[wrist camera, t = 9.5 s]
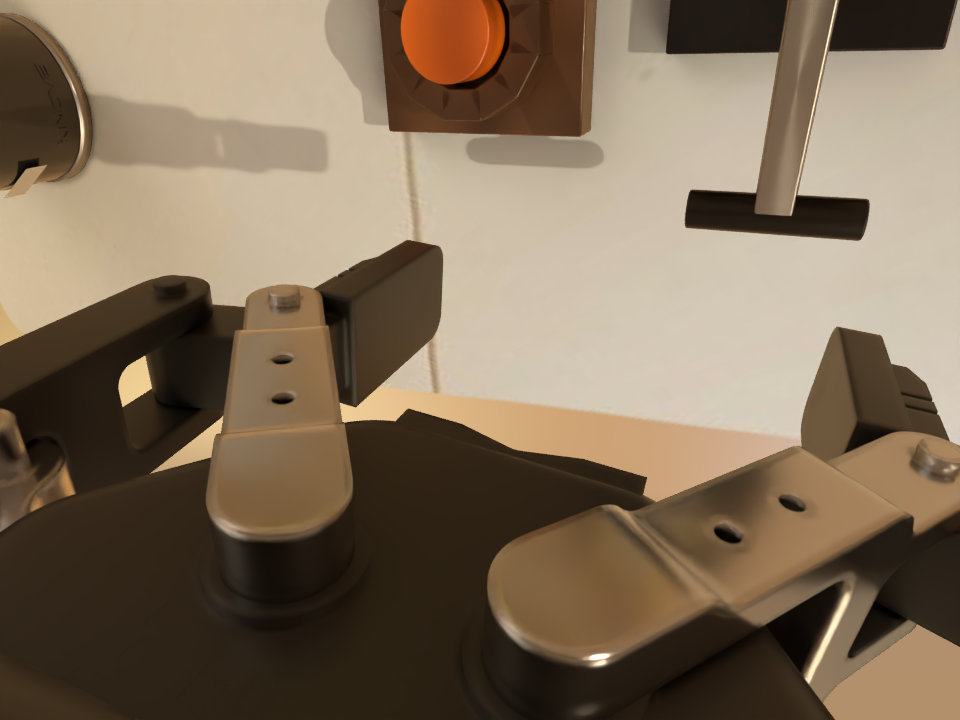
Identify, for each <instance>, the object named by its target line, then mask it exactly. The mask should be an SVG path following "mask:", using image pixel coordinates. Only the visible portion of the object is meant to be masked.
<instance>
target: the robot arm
mask: <svg viewBox="0 0 960 720" xmlns="http://www.w3.org/2000/svg"><path fill="white" fill-rule="evenodd" d="M91 145H92V122H91V115H90V110H89V105H88V101H87V98H86V95H85V92H84V89H83V87H82V84H81V82H80V80H79V77H78V75H77V73H76V71H75V69H74V67H73V66H72V64H71V62H70V61H69V59H68V58H67V56H66V55H65V53H64V52H63V50H62V49H61V48H60V46H59V45H58V44H57V43H56V42H55V40H54V39H53V38H52V37H51V36H50V35H49V34H48V33H47V32H46V31H44V30H43V29H42V28H41V27H40V26H38V25H37V24H36V23H34V22H32V21H31V20H29V19H27V18H25V17H23V16H20V15H16V14H11V13H0V191H2V190H8V189H11V190H10V191H9V193H8V194H7V195H6V197H5V198H8V197H12V196H17V195H21V194H25V193H26V192H27V191H28V189H29V188H30V187H31V185H32V184H36V183H41V182H45V181H46V182H54V181H59V180H64V179H68V178H71V177H73V176H75V175H76V174H78V173H79V172H80V171H81V170H82V169H83V167H84V166H85V164H86V162H87V160H88V157H89V154H90V150H91ZM442 276H443V254H442V250H441V248H440V247H439V246H436V245H431V244H426V243H421V242H416V241H411V240H407V241H404V242H403V243H401V244H399V245H397V246H396V247H394V248H392V249H391V250H389V251H387V252H385V253H384V254H382V255H380V256H378V257H376V258H372V259H368V260H364V261H362V262H360V263H358V264H356V265H354V266H353V267H351V268H349V270H346V271H344V272H342V273H340V274H339V275H338V277H336V276H335V277H333V278H332V279H330V280H328V281H326V282H324V283H323V284H321V285H319V286H317V287H316V288H314V289H312V288H309V287H305V286H299V285H276V286H270V287H266V288H262V289H259V290H257V291H255V292H253V293H251V294H250V295H249V296H248V297H247V299H246V305H245V307H237V306H224V305H212V298H211V291H210V285H209V284H208V282H206V281H205V280H202V279H200V278H196V277H190V276H177V275H169V276H163V277H159V278H156V279H151V280H148V281H145V282H143V283H140V284H138V285H136V286H133V287H131V288H129V289H127V290H124V291H122V292H120V293H118V294H115V295H113V296H111V297H109V298H106V299H104V300H102V301H100V302H97V303H95V304H93V305H91V306H89V307H86V308H84V309H82V310H80V311H77V312H75V313H73V314H71V315H68V316H66V317H64V318H62V319H59V320H57V321H55V322H53V323H50V324H48V325H46V326H44V327H41V328H39V329H37V330H35V331H32V332H30V333H28V334H26V335H23V336H21V337H19V338H17V339H14V340H12V341H10V342H8V343H5V344H3V345H1V346H0V720H835V719H834V718H833V716H832V715H831V714H830V712H829V711H828V710H827V708H826V707H825V706H824V704H823V702H824V700H825V699H826V698H827V696H828V695H829V694H830V693H831V692H832V691H833V689H834V688H835V687H836V686H837V685H839V684H840V683H841V682H842V681H843V680H845V679H846V678H848V677H849V676H850V675H852V674H853V673H854V672H856V671H857V670H859V669H860V668H861V667H863V666H864V665H866V664H867V663H868V662H870V661H871V660H873V659H874V658H875V657H877V656H878V655H879V654H881V653H882V652H884V651H885V650H886V649H888V648H889V647H891V646H892V645H893V644H895V643H896V642H897V641H899V640H900V639H902V638H903V637H904V636H906V635H907V634H909V633H910V632H911V631H912V630H913V629H914V628H915V627H916V625H917V624H918V625H920V626H922V627H923V628H925V629H927V630H929V631H931V632H933V633H935V634H937V635H938V636H940V637H942V638H944V639H946V640H948V641H950V642H952V643H953V644H955V645H957V646H959V647H960V446H959V445H957V444H955V443H952V442H950V440H949V438H948V435H947V433H946V431H945V428H944V426H943V423H942V421H941V419H940V416H939V415H937V412H938V411H937V409H936V407H935V404H934V402H932V397H931V394H930V392H929V390H928V387H927V385H926V383H925V382H924V381H922V380H921V379H920V378H919V377H918V376H917V375H915V374H914V373H913V372H912V371H911V370H910V369H908V368H907V367H903V366H898V365H893V364H891V362H890V359H889V356H888V353H887V350H886V347H885V344H884V341H883V338H882V336H881V335H876V334H871V333H866V332H861V331H856V330H851V329H846V328H841V327H836V328H835V329H834V331H833V332H832V334H831V337H830V339H829V342H828V344H827V347H826V350H825V352H824V355H823V358H822V361H821V364H820V366H819V369H818V372H817V375H816V377H815V380H814V383H813V386H812V388H811V391H810V394H809V397H808V399H807V402H806V406H805V409H804V413H803V418H802V424H801V442H802V447H800V446H793V447H790V448H788V449H785V450H783V451H780V452H778V453H776V454H773V455H770V456H768V457H766V458H763V459H761V460H758V461H756V462H753V463H751V464H748V465H746V466H744V467H741V468H739V469H736V470H734V471H731V472H729V473H726V474H724V475H722V476H719V477H717V478H714V479H712V480H709V481H707V482H704V483H702V484H700V485H697V486H695V487H692V488H690V489H688V490H685V491H683V492H680V493H678V494H675V495H673V496H670V497H668V498H665V499H663V500H660V501H658V502H655V501H654V500H652V499H650V498H648V497H646V496H644V495H643V493H644V488H645V484H646V480H647V477H644V476H640V475H637V474H633V473H630V472H626V471H623V470H619V469H616V468H612V467H609V466H605V465H602V464H599V463H595V462H591V461H588V460H585V459H579V458H571V457H563V456H555V455H547V454H540V453H532V452H525V451H524V452H523V451H518V450H514V449H512V448H509V447H507V446H505V445H503V444H501V443H499V442H497V441H495V440H493V439H491V438H489V437H487V436H485V435H483V434H481V433H479V432H477V431H475V430H473V429H471V428H469V427H467V426H465V425H463V424H460V423H457V422H453V421H449V420H446V419H442V418H439V417H436V416H432V415H429V414H425V413H422V412H418V411H415V410H411V409H407V410H406V411H405V412H404V413H403V414H402V415H401V416H400V417H399V418H398V419H397V420H396V421H384V420H364V421H354V422H347V423H344V422H342V416H341V410H340V403H343V404H346V405H350V406H353V407H357V406H358V405H359V404H360V403H361V402H362V401H363V400H364V399H365V398H367V397H368V396H369V395H370V394H371V393H372V392H373V391H374V390H375V389H377V388H378V387H379V386H380V385H381V384H382V383H383V382H384V381H385V380H387V379H388V378H389V377H390V376H391V375H392V374H393V373H394V372H395V371H397V370H398V369H399V368H400V367H401V366H402V365H403V364H404V363H405V362H406V361H408V360H409V359H410V358H411V357H412V356H413V355H414V354H415V353H416V352H418V351H419V350H420V349H421V348H422V347H423V346H424V345H425V344H426V343H427V342H429V341H430V340H431V339H432V338H433V336H434V335H435V333H436V331H437V329H438V326H439V322H440V317H441V302H442ZM143 356H146V361H147V365H148V370H149V375H150V380H151V384H152V389H151V390H149V391H148V392H146V393H144V394H143V395H141V396H140V397H138V398H137V399H135V400H134V401H132V402H130V403H129V404H127V405H126V406H124V407H123V408H122V404H121V399H120V395H119V390H118V384H119V379H120V376H121V374H122V372H123V371H124V370H125V368H126V367H127V366H128V365H130V364H131V363H133V362H134V361H136V360H138V359H140V358H141V357H143ZM223 415H224V416H223ZM222 416H223V423H222V431H221V434H216V436H215V438H214V443H213V450H212V457H211V458H208V459H204V460H201V461H196V462H193V463H189V464H185V465H181V466H178V467H174V468H170V469H166V470H163V471H159V472H155V473H151V472H152V471H153V470H155V469H156V468H158V467H159V466H160V465H161V464H163V463H164V462H165V461H166V460H168V459H169V458H170V457H172V456H173V455H174V454H175V453H177V452H178V451H179V450H181V449H182V448H183V447H184V446H186V445H187V444H188V443H189V442H191V441H192V440H193V439H195V438H196V437H197V436H198V435H200V434H201V433H202V432H204V431H205V430H206V429H207V428H209V427H210V426H211V425H212V424H214V423H215V422H216V421H218V420H219V419H220V418H221V417H222ZM150 473H151V474H150Z"/></svg>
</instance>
